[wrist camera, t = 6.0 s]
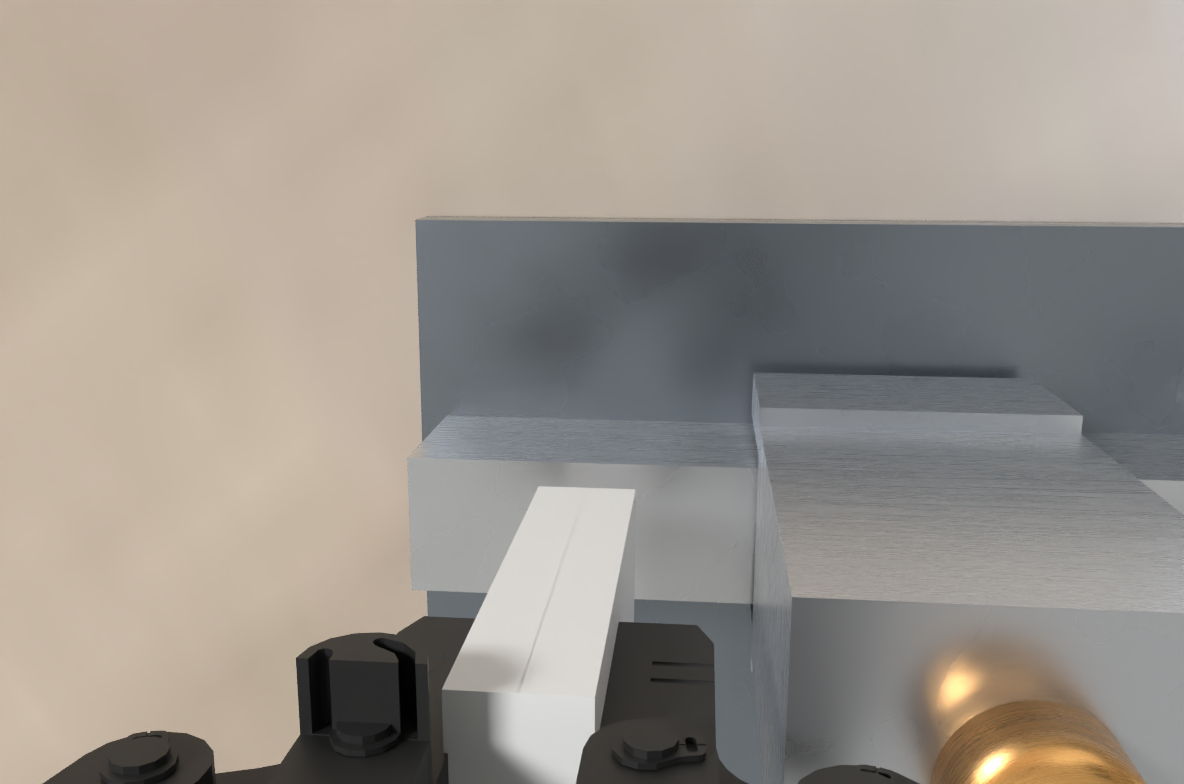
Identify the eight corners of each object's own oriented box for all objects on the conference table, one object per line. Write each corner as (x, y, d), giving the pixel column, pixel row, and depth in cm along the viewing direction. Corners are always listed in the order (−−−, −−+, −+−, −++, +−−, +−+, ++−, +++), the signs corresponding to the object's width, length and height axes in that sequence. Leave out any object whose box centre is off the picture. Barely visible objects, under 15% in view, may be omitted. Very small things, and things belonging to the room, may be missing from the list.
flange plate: (1632, 227, 20) (1853, 248, 16) (1486, 953, 24) (1640, 1114, 20) (428, 216, 22) (369, 232, 18) (447, 884, 26) (401, 1017, 22)
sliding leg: (1032, 378, 20) (1422, 663, 9) (991, 837, 22) (1271, 1518, 11) (753, 372, 21) (807, 636, 10) (737, 821, 23) (767, 1462, 12)
